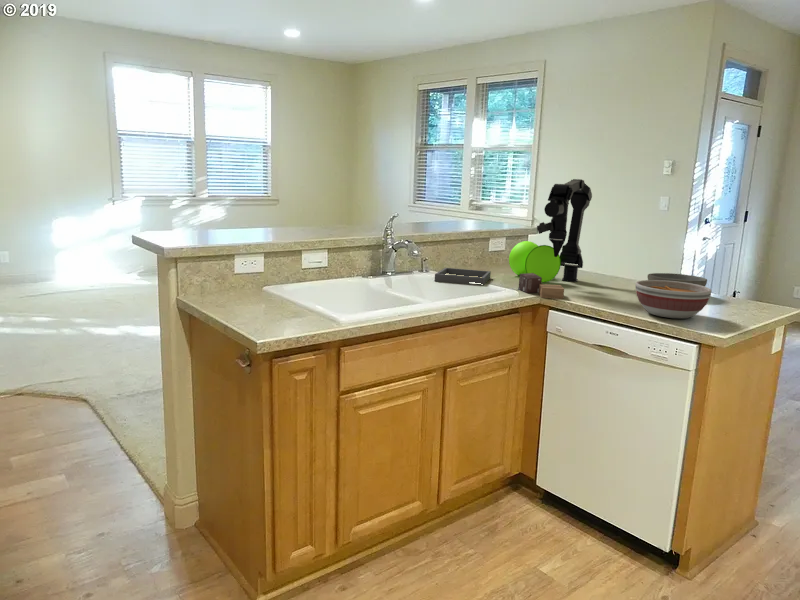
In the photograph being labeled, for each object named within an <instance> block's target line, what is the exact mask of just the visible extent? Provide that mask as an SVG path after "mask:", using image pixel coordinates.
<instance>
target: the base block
mask: <svg viewBox="0 0 800 600" xmlns="http://www.w3.org/2000/svg"><path fill="white" fill-rule="evenodd" d="M564 294H565V288H564V287H563V286H562V285H560V284H547V283H546V284H545V283H541V284H539V292H538V296H539V297H540V298H541V299H545V298H546V299H557V300H558V299H561V300H563V299H564V296H565V295H564Z"/></svg>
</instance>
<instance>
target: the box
mask: <svg viewBox="0 0 800 600" xmlns="http://www.w3.org/2000/svg"><path fill="white" fill-rule="evenodd" d="M518 277H519V278H518V287H519V289H521V290H520V291H522V292H524V293H526V294H531V293H532V294H533V293H534V294H535V293H538V294H539V284H542V283H543V282H542V277H540V276H538V275H536V274H534V273H523V274H520V275H519V276H518Z"/></svg>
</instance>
